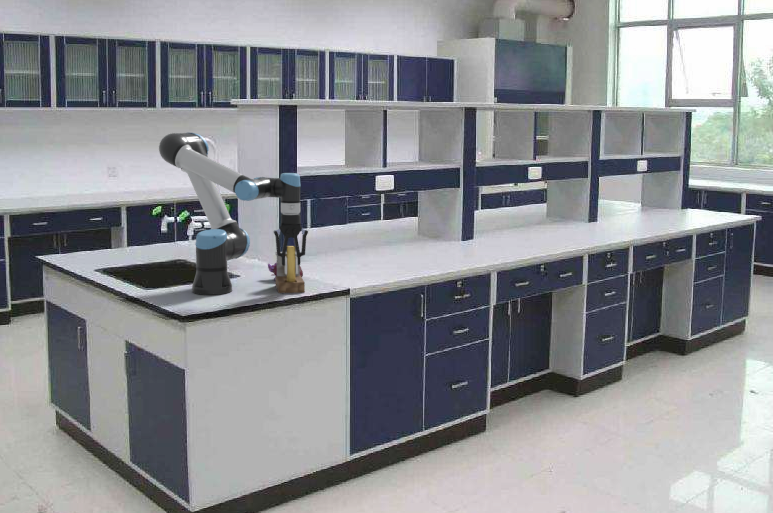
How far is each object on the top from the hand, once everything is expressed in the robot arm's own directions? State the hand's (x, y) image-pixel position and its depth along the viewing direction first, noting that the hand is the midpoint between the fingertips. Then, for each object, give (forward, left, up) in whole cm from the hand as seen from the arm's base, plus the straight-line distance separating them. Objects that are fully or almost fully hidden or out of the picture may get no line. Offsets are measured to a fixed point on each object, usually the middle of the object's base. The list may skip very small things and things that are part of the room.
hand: (291, 273), depth 326 cm
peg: (0, 0, -3) cm, 3 cm away
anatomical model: (+1, +24, -7) cm, 25 cm away
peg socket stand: (0, +4, -7) cm, 8 cm away
